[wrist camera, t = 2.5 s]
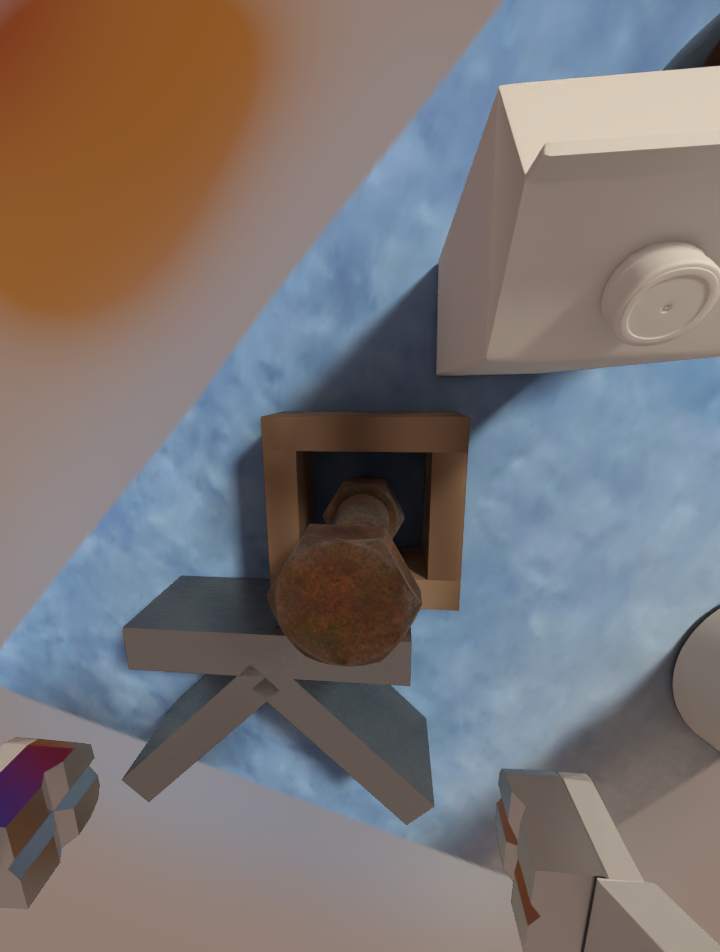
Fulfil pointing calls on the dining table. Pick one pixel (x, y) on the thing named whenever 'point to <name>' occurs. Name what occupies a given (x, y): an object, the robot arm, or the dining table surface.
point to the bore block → (428, 432)
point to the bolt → (348, 580)
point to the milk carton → (587, 228)
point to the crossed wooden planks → (273, 692)
